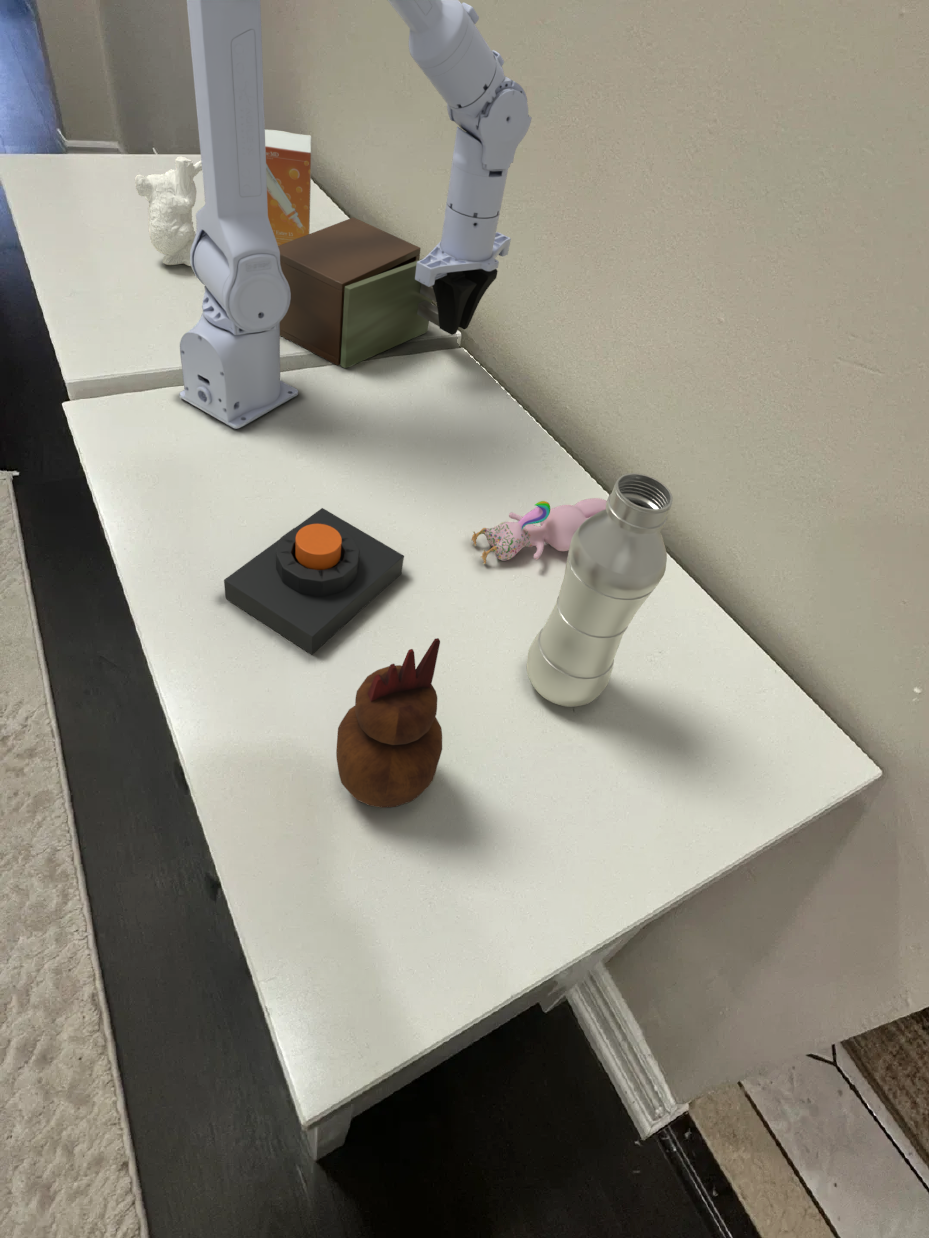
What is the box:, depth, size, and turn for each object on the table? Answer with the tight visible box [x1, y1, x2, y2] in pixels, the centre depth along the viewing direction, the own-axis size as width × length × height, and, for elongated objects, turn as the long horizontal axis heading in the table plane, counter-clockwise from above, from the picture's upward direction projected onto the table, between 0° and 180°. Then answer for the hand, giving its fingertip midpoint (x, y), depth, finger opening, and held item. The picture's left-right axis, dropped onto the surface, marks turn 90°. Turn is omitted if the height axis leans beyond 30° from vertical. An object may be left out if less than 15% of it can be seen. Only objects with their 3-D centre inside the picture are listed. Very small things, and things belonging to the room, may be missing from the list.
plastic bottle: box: [526, 472, 674, 708], centre depth 55 cm, size 6×7×20 cm
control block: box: [223, 507, 405, 655], centre depth 63 cm, size 12×9×4 cm
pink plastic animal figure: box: [471, 497, 607, 565], centre depth 71 cm, size 6×6×15 cm
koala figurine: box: [134, 156, 202, 267], centre depth 93 cm, size 8×7×12 cm
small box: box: [265, 128, 313, 246], centre depth 101 cm, size 8×6×13 cm
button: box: [295, 524, 342, 570], centre depth 61 cm, size 4×4×2 cm
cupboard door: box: [340, 257, 439, 369], centre depth 88 cm, size 6×15×9 cm, turn 141°
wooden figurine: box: [335, 637, 443, 809], centre depth 48 cm, size 7×6×15 cm
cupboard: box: [278, 216, 421, 367], centre depth 90 cm, size 10×15×10 cm
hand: (453, 328), depth 90 cm, fingers closed, pressing on cupboard door
